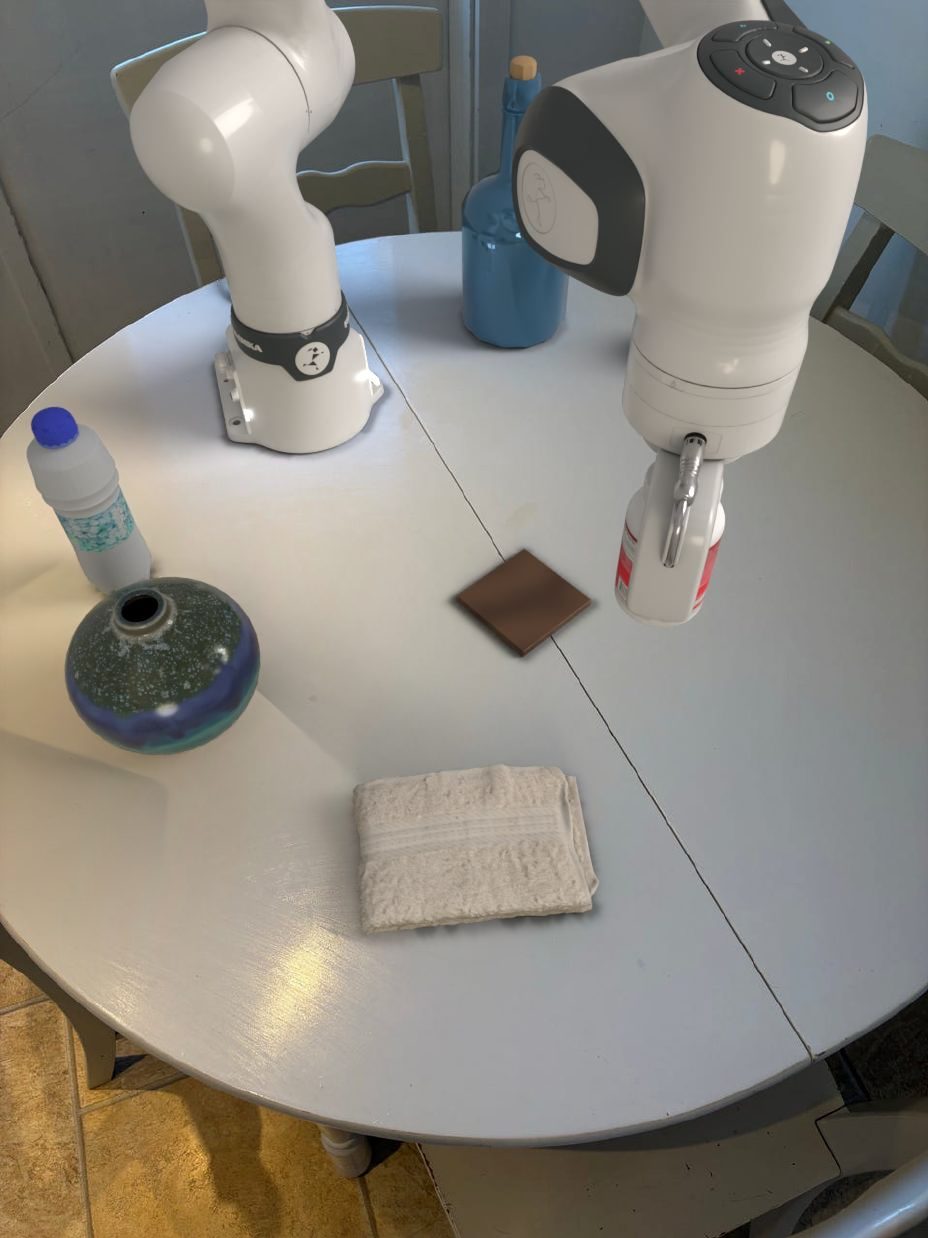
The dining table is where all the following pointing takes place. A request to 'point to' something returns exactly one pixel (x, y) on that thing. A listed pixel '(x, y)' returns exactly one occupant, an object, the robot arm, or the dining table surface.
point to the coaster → (523, 601)
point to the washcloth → (471, 847)
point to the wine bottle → (507, 244)
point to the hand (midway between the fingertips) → (666, 555)
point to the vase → (163, 665)
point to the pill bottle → (629, 547)
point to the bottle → (87, 500)
